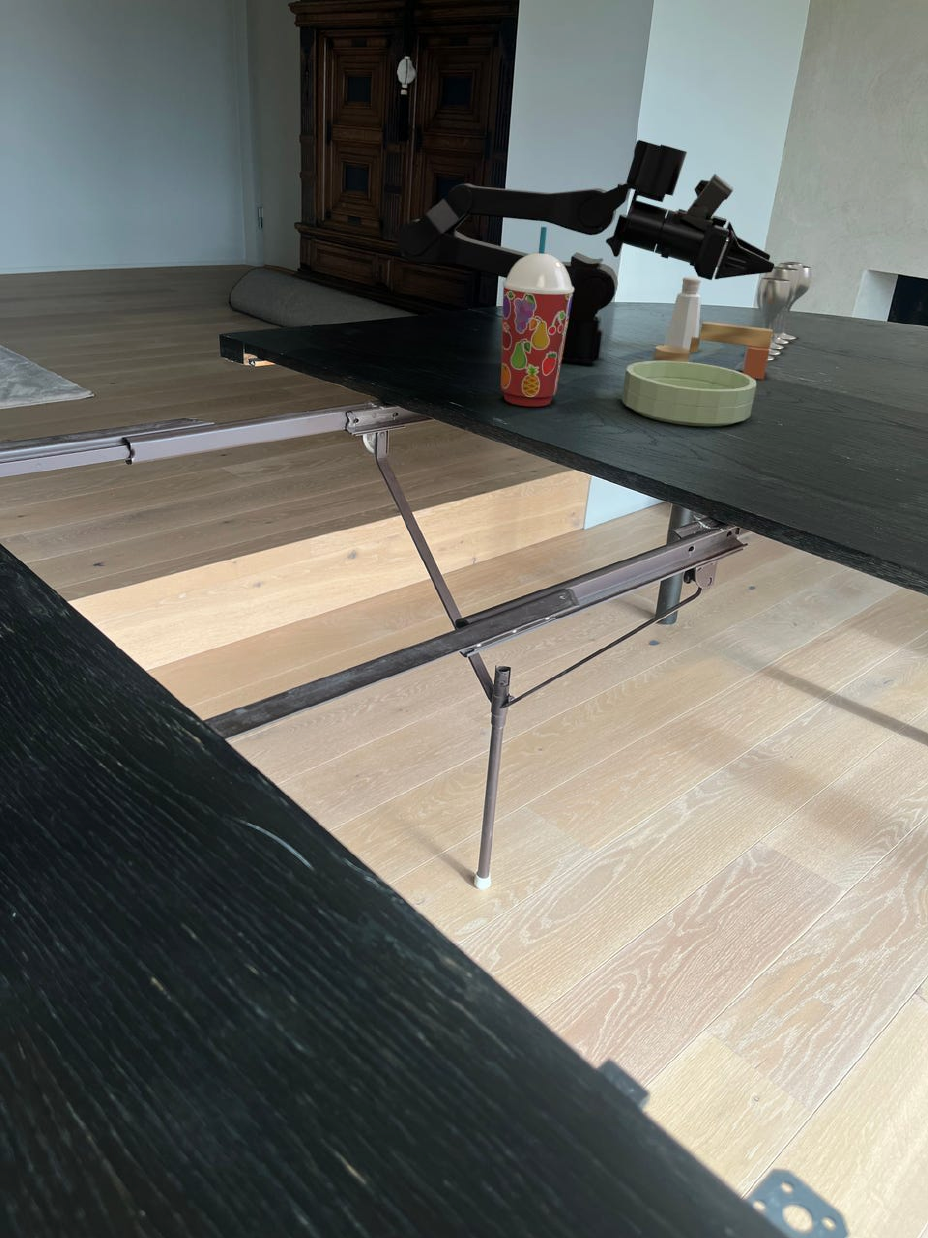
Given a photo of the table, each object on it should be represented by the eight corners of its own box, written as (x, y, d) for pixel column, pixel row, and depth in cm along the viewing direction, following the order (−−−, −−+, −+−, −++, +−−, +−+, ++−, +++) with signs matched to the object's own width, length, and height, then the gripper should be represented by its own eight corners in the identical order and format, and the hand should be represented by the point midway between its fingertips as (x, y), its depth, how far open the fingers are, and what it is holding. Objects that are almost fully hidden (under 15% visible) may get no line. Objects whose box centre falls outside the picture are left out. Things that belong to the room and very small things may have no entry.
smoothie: (568, 398, 120) (587, 228, 111) (551, 414, 113) (571, 233, 104) (504, 389, 123) (519, 221, 113) (484, 403, 115) (498, 225, 106)
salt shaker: (682, 353, 152) (694, 280, 147) (656, 346, 155) (667, 275, 150) (704, 351, 155) (716, 279, 150) (678, 344, 158) (689, 274, 153)
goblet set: (775, 362, 150) (794, 273, 144) (738, 356, 152) (756, 269, 146) (800, 336, 173) (818, 259, 167) (768, 332, 175) (784, 255, 169)
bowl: (615, 418, 113) (621, 380, 111) (627, 389, 127) (632, 355, 125) (750, 435, 111) (758, 396, 109) (747, 404, 124) (754, 369, 122)
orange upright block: (742, 377, 139) (748, 347, 137) (741, 370, 143) (747, 341, 141) (763, 379, 138) (769, 350, 136) (762, 372, 143) (768, 344, 141)
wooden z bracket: (651, 366, 141) (659, 319, 138) (653, 359, 146) (661, 314, 143) (763, 380, 138) (773, 333, 135) (761, 373, 143) (771, 327, 140)
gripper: (680, 172, 120) (801, 207, 119) (683, 165, 136) (789, 196, 135) (650, 262, 125) (766, 297, 124) (656, 246, 142) (759, 276, 140)
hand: (771, 263), depth 131 cm, fingers open, 9 cm apart
